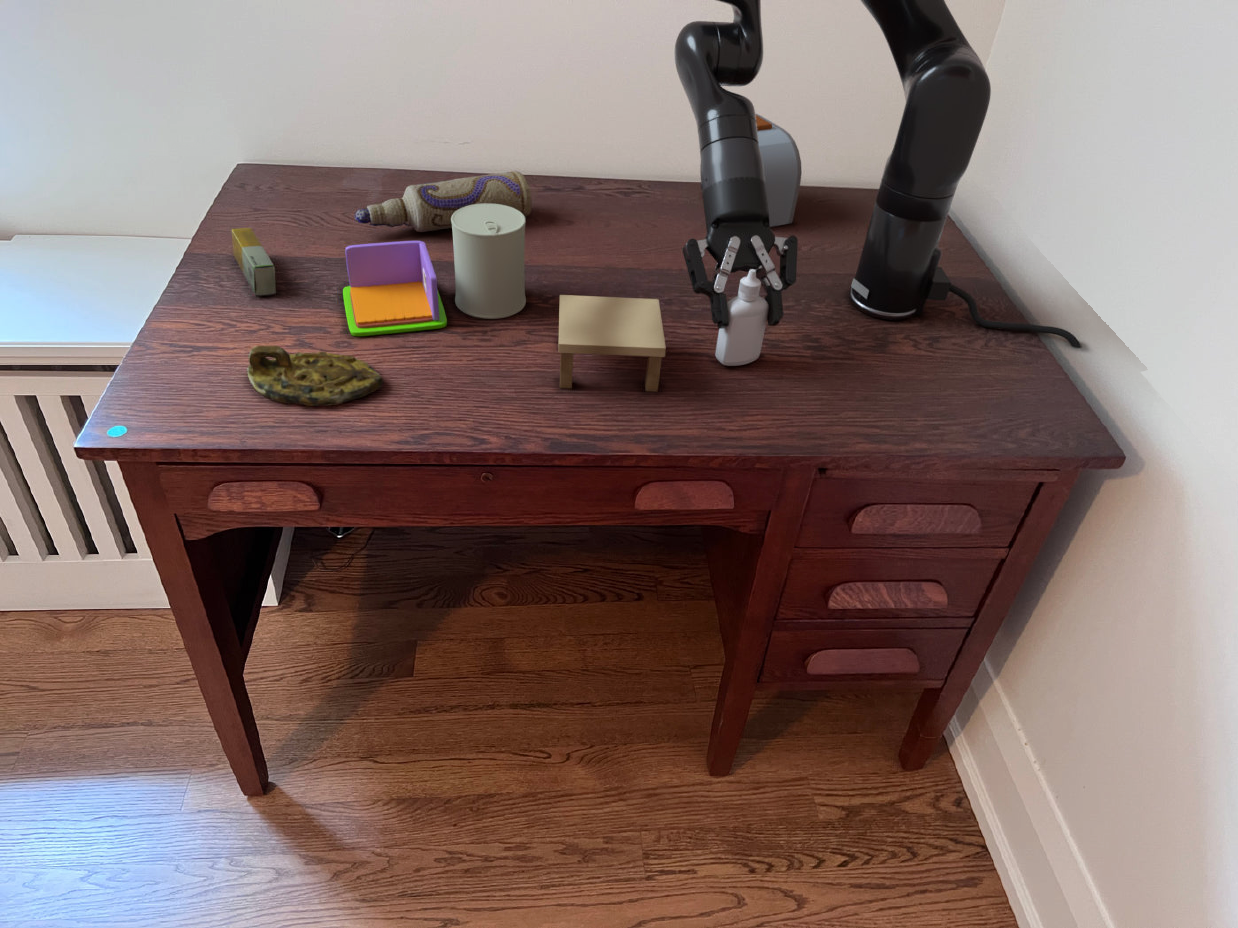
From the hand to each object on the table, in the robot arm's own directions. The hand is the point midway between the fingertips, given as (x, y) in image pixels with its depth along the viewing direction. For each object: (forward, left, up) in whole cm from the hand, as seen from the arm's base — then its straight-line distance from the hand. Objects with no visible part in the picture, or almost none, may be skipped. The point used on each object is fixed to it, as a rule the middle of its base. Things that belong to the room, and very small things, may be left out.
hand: (749, 325), depth 104 cm
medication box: (+62, -18, -6) cm, 65 cm away
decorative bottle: (+39, -37, -6) cm, 54 cm away
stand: (+16, 0, -6) cm, 17 cm away
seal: (+49, +6, -6) cm, 50 cm away
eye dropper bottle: (0, -2, -6) cm, 6 cm away
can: (+31, -14, -6) cm, 35 cm away
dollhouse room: (+43, -11, -6) cm, 45 cm away
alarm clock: (-8, -48, -6) cm, 49 cm away
